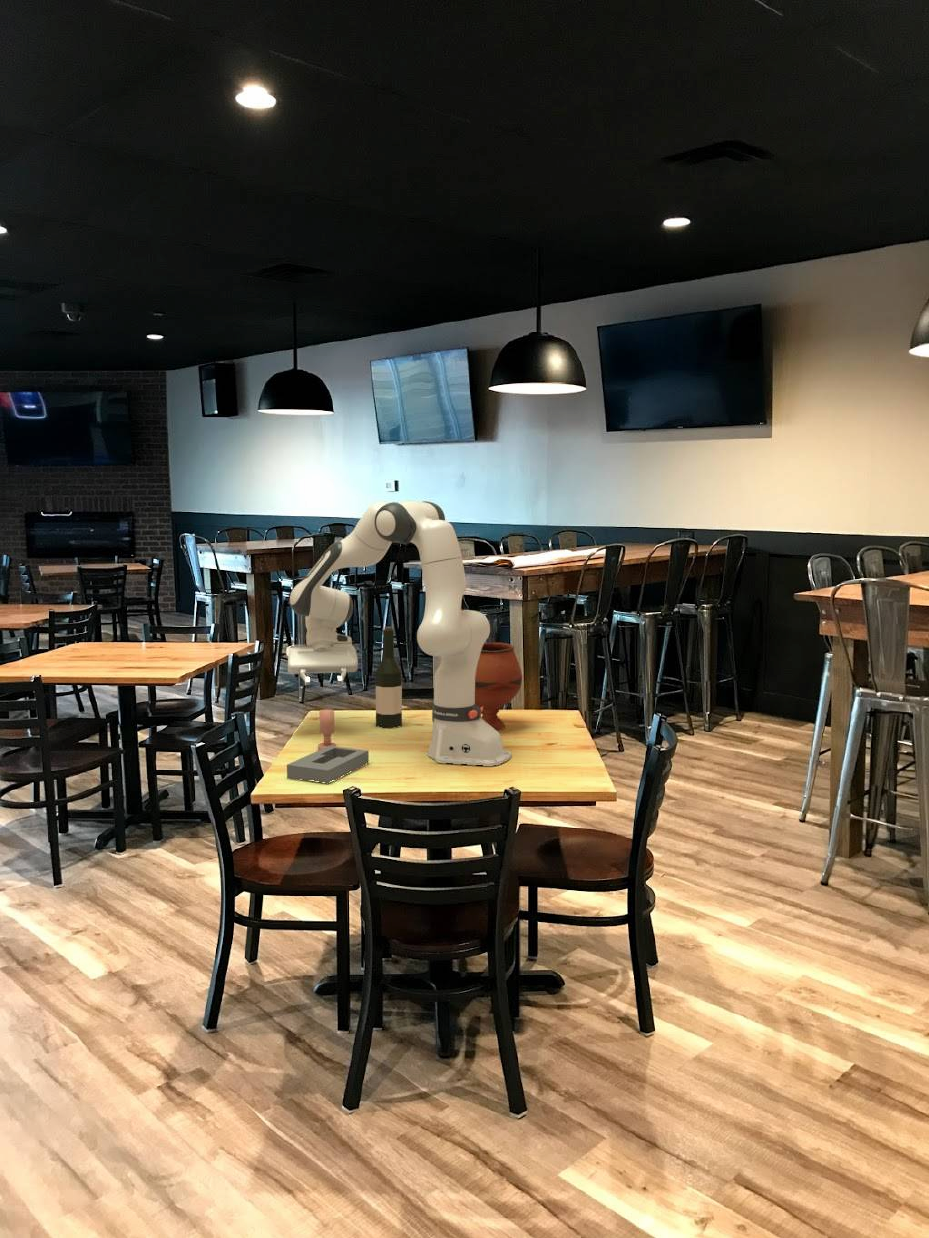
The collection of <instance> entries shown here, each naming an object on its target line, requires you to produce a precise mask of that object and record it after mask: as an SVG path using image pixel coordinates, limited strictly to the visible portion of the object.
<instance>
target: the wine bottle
mask: <svg viewBox="0 0 929 1238" xmlns="http://www.w3.org/2000/svg"><path fill="white" fill-rule="evenodd" d="M394 633H395V631H394V629H393V627H392V626H384V628H383V630H382V659H381V660H380V663H379V664H378V666H377V668H376V670H375V673H374V674H375V727H377V726H379V727H378V728H381V727H382V728H381V729H395V728H394V727H396V728H399V727H398V726H401V727H402V726H403V702H402V701H403V697H402V696H403V695H402V694H403V691H402V689H403V685H402V684H403V683H402V681H403V679H402V678H403V676H402V674H403V673H402V672H403V671H402V668H401V667H400V665H399V663H398V661H397V660H396V657H395V645H394V644H395V643H394V642H395V641H394V639H395V638H394V636H395V634H394Z"/></svg>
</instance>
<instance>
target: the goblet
mask: <svg viewBox="0 0 929 1238" xmlns="http://www.w3.org/2000/svg"><path fill="white" fill-rule="evenodd" d="M522 683H523V675H522V669H521V665H520V662H519V660H518V658H517V656H516V653H515V647H514V646H513V645H512V644H510V643H505V642H485V643H484V645H483V647H482V650H481V653H480V657H479V661H478V665H477V669H476V676H475V703H476V705H477V706H478V707H479V708H481V707H483V709H482V710H483V711H481V718H482V719H483V720H484V721H485V722H487V723H488V724H489V725H490V726H491V727H493V728H494V729H495V730H496V731H499V730H500V731H501V730H503V729H505V727H506V725H505V723H504V722H503V720H502V719H501V718H500V717H499V716H498V713H499V712H500V708H502V707H504V706H505V705H507V704H508V703H509V702H510V703H511V701H512V700H513V699H514V698H515V697H516V696H517V695H518V694H519V692H520V690H521V687H522Z"/></svg>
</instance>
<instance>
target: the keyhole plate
mask: <svg viewBox="0 0 929 1238" xmlns="http://www.w3.org/2000/svg"><path fill="white" fill-rule="evenodd" d="M369 753H370V752H369V750H366V749H358V748H353V747H345V746H344V747H343V746H337V745H336V746H327V747H325V748H323V749H321V750H317V751H314V752H311V753H310V754H308V755H305V756H303V757H301V758H299V759H296V760H294V761H291V762H290V763H288V764H286V779H288V778H294V779H293V780H295V779H302V780H314V781H319V782H325V783H329V782H330V781H332V780H336V779H338V778H340V777H341V776H343V775H345V774H347V773H349V772H350V771H353V772H354V770H355V771H357V770H358V769H357V768H359V769H360V767H361V766H363V765H365V764H366V763H368V762H369V761H370V760H369V755H370V754H369ZM369 763H370V762H369ZM365 766H366V765H365ZM363 767H364V766H363ZM361 768H362V767H361ZM356 769H357V770H356ZM349 774H350V773H349ZM347 775H348V774H347ZM345 776H346V775H345ZM343 777H344V776H343ZM340 779H341V778H340ZM302 780H301V781H302ZM338 780H339V779H338ZM336 781H337V780H336Z"/></svg>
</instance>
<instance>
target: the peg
mask: <svg viewBox="0 0 929 1238" xmlns="http://www.w3.org/2000/svg"><path fill="white" fill-rule="evenodd" d="M318 713H319V733H320V734H321V735H323V742H320V743H318V745H317V749H318V750H321V749H323V748H325V747H327V746H337V743H335V742H332V734H334V733H335V710H334V709H320V710H319V712H318ZM318 750H317V751H318Z"/></svg>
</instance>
